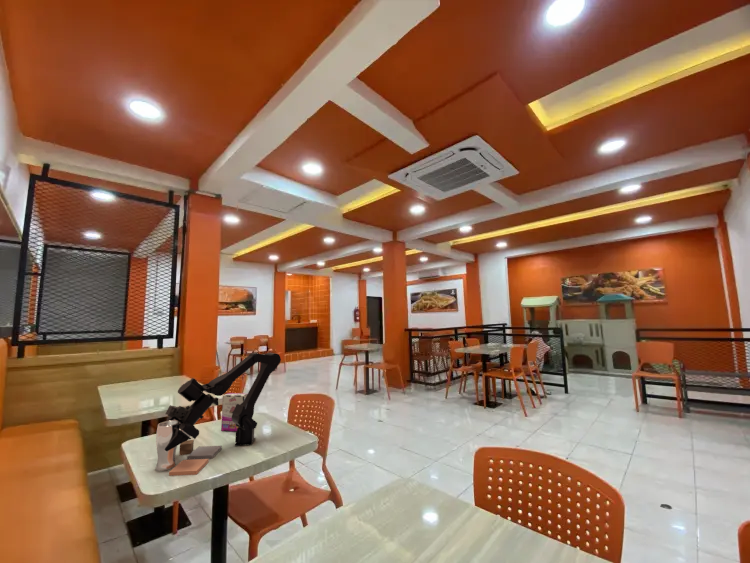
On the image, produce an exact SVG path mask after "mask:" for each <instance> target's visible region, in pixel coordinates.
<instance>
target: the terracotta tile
mask: <svg viewBox="0 0 750 563" xmlns="http://www.w3.org/2000/svg"><path fill="white" fill-rule="evenodd" d="M209 461H210V459H191V460H187V459H183V460H181V461H179V462H178V463H177V464H176V466H175V467H174V468H172V469H170V470H169V471H168V476H171V475H172V476H173V477H174V476H191V475H192V476H194V475H198V474H199V473H200V472H201V471H202V470H203V469H204V467H205V466H207V464H209Z"/></svg>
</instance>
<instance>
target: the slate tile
mask: <svg viewBox="0 0 750 563" xmlns="http://www.w3.org/2000/svg"><path fill="white" fill-rule="evenodd" d="M222 447H223V445H204V446H198V447H196V448H195V449H193V451H192V453H191V454H187V457H186V458H187V459H186V460H193V459H209V460H211V459H213V458H215V456H216V455H217V454H218V453H220V451H221V450H222V449H223V448H222Z"/></svg>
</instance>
